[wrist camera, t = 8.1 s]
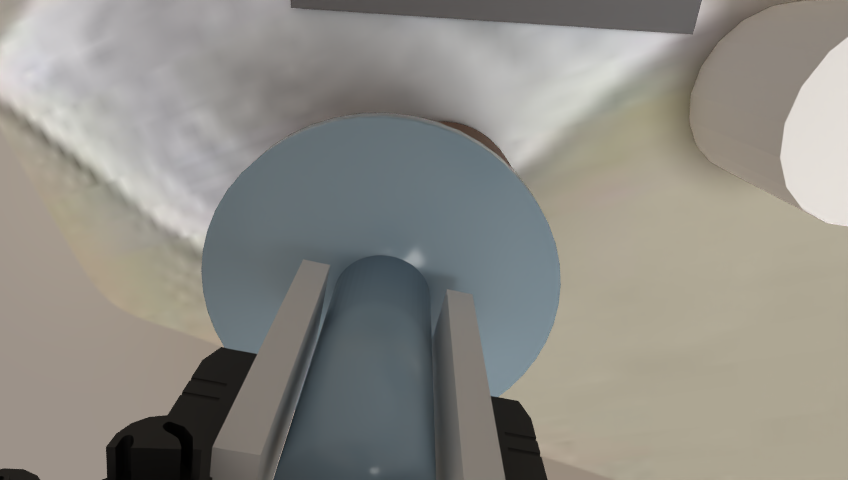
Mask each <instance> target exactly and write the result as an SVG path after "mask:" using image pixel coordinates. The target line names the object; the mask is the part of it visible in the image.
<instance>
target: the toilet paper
mask: <svg viewBox="0 0 848 480" xmlns="http://www.w3.org/2000/svg"><path fill="white" fill-rule="evenodd" d="M689 123H690V126H691V130H692V133H693V137H694V140H695V144H696V145H697V146H698V148H699V149H700V150H701V151H702V153H703V154H704V155H705V156H706V158H707V159H708V160H709V161H710V162H711V163H713V164H715V165H717V166H719V167H720V168H722V169H724V170H726V171H728V172H729V173H731V174H733V175H735V176H737V177H739V178H741V179H743V180H745V181H747V182H749V183H751V184H752V185H754V186H756V187H758V188H760V189H762V190H764V191H766V192H768V193H770V194H772V195H774V196H776V197H778V198H779V199H781V200H783V201H785V202H787V203H789V204H791V205H793V206H795V207H797V208H799V209H801V210H803V211H805V212H807V213H808V214H810V215H812V216H814V217H816V218H818V219H820V220H822V221H824V222H826V223H829V224H836V225H842V226H848V0H814V1H798V2H792V3H786V4H780V5H775V6H771V7H769V8H767V9H765V10H763V11H761V12H759V13H757V14H755V15H753V16H751V17H749V18H747V19H745V20H743V21H742V22H741V23H739V24H738V25H737V26H736V27H735V28H734V29H733V30H731V31H730V32H729V33H728V34H727V35H726V36H724V37H723V38H722V39H721V40H720V41H719V42H718V43H717V45H716V46H715V48H714V49H713V50H712V52H711V53H710V55H709V56H708V58H707V59H706V60H705V62H704V63H703V65H702V66H701V68H700V71H699V73H698V76H697V79H696V82H695V84H694V87H693V90H692V92H691V97H690V114H689Z"/></svg>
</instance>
